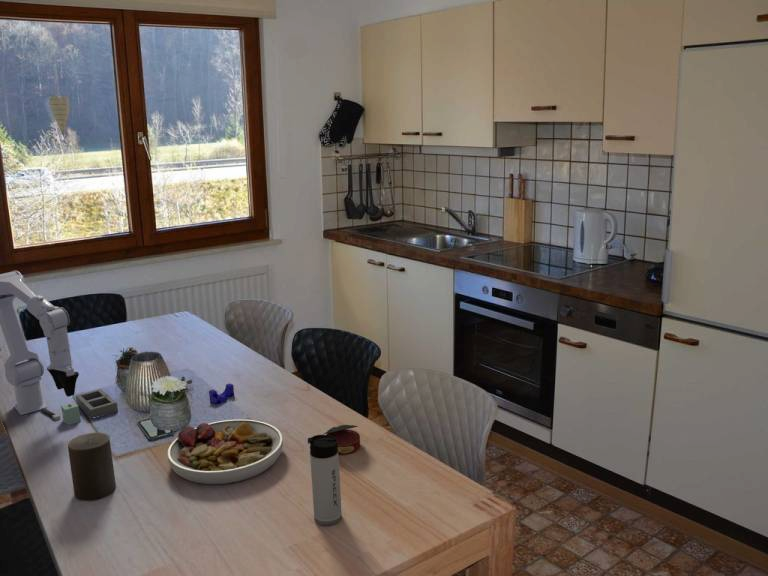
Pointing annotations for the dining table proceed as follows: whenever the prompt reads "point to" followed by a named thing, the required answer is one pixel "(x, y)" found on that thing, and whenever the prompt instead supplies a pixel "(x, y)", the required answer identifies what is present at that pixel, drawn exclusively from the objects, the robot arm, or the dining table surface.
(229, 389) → the cable holder
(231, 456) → the bowl
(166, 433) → the smartphone
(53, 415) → the cable piece
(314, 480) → the travel mug
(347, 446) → the canned food
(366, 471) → the dining table surface
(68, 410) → the block
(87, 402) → the grey piece
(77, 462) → the pillar candle
